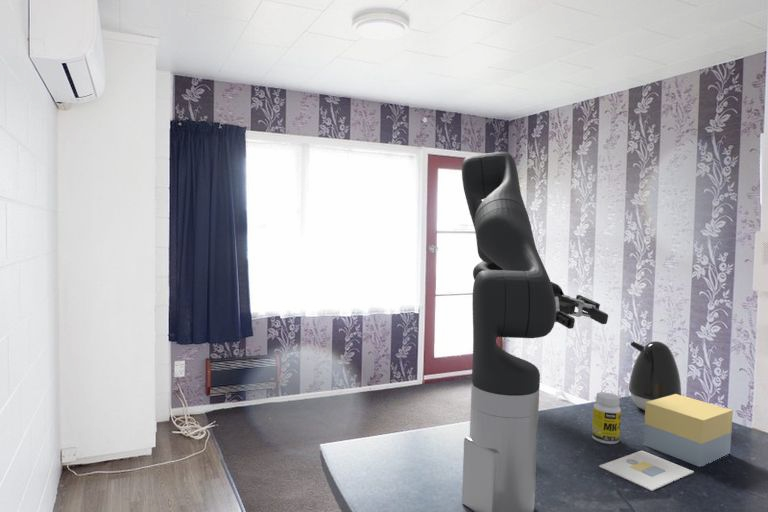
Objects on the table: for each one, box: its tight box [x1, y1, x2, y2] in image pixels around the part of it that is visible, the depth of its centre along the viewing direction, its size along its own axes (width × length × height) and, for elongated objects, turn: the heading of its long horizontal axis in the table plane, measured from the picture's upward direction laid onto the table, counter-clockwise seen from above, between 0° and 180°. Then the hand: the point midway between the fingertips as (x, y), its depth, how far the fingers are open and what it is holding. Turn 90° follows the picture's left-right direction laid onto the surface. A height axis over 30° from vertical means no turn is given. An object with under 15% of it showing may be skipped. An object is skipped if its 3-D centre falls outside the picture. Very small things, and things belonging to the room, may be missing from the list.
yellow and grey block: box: [643, 394, 734, 468], centre depth 93 cm, size 10×10×8 cm
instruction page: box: [599, 450, 695, 492], centre depth 85 cm, size 12×9×1 cm
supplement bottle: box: [591, 392, 622, 445], centre depth 97 cm, size 5×5×8 cm
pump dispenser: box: [628, 341, 682, 411], centre depth 113 cm, size 10×10×15 cm
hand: (589, 321), depth 101 cm, fingers open, 8 cm apart
